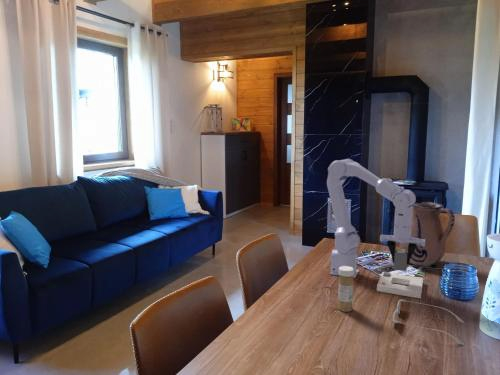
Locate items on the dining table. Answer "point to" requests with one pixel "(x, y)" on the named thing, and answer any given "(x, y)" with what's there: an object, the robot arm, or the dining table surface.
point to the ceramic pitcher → (429, 233)
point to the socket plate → (411, 290)
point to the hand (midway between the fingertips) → (400, 263)
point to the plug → (400, 260)
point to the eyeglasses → (423, 327)
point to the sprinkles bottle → (345, 288)
